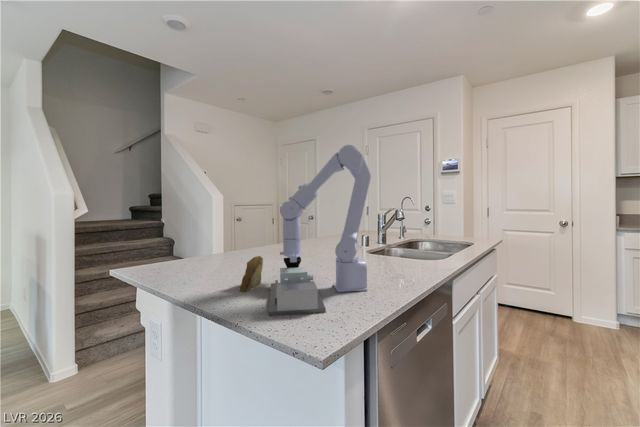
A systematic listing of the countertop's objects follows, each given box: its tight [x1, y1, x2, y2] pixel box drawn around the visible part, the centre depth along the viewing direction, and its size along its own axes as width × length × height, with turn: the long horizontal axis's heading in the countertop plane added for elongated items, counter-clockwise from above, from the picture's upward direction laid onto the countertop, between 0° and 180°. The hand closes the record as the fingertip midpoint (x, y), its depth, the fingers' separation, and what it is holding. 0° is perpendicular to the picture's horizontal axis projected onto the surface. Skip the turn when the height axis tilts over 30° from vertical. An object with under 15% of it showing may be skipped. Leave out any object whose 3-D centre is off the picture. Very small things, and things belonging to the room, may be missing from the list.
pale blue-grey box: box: [279, 266, 314, 284], centre depth 93 cm, size 10×9×5 cm
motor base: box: [268, 279, 327, 317], centre depth 88 cm, size 14×25×6 cm, turn 8°
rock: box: [239, 255, 264, 292], centre depth 99 cm, size 11×9×10 cm
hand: (292, 279), depth 100 cm, fingers closed
